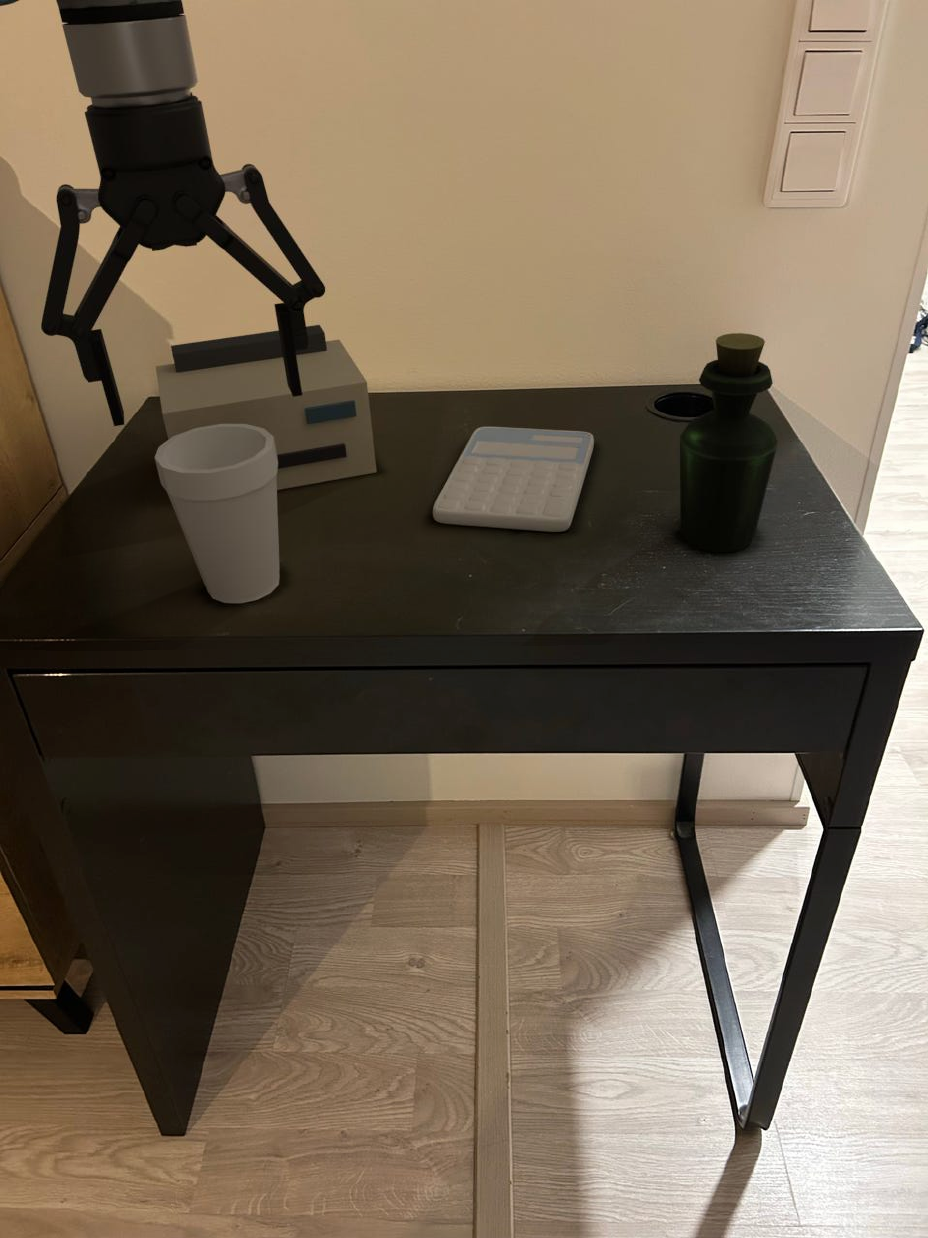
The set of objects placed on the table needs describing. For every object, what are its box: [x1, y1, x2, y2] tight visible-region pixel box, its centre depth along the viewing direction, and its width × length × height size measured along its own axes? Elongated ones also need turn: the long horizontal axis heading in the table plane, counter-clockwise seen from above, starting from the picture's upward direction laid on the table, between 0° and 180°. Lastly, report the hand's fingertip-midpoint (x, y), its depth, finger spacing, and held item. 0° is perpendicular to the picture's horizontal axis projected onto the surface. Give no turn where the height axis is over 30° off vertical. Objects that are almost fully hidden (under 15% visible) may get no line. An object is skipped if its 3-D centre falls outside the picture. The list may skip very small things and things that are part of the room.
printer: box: [155, 324, 377, 491], centre depth 101 cm, size 20×14×12 cm
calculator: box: [432, 426, 595, 533], centre depth 97 cm, size 13×20×2 cm, turn 167°
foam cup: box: [154, 424, 281, 604], centre depth 80 cm, size 10×9×13 cm
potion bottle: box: [679, 332, 779, 554], centre depth 82 cm, size 8×8×18 cm
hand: (208, 404), depth 75 cm, fingers open, 13 cm apart
